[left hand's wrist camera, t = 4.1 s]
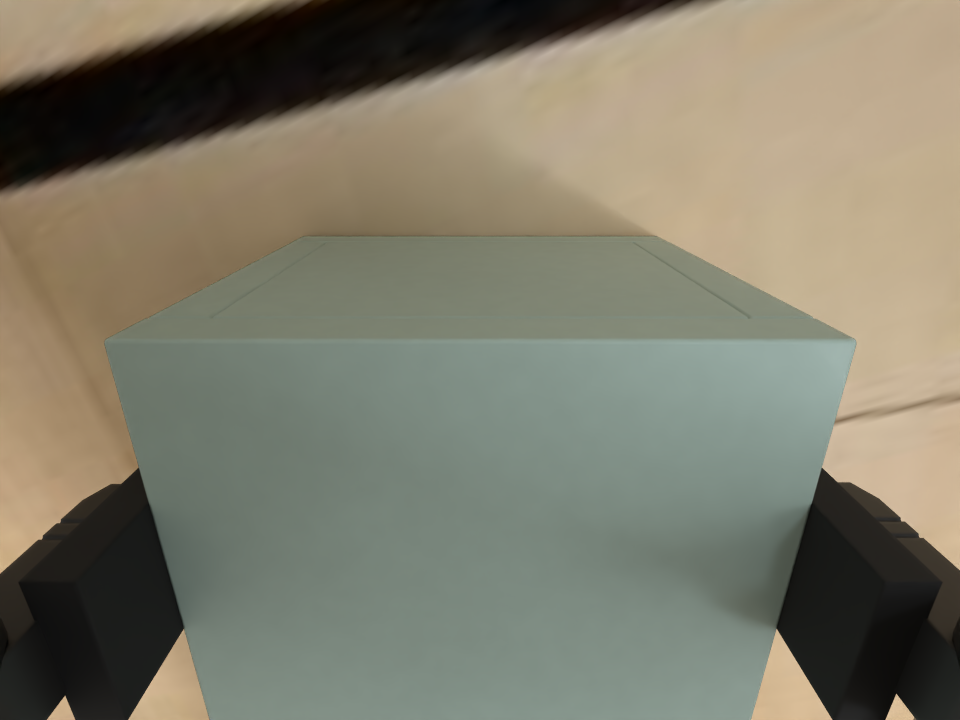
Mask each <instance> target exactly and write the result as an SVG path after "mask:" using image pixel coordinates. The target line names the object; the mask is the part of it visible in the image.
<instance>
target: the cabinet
mask: <svg viewBox="0 0 960 720" xmlns="http://www.w3.org/2000/svg"><path fill="white" fill-rule="evenodd" d="M104 344H105V348H106V352H107V355H108V359H109V362H110V366H111V369H112V373H113V377H114V380H115V384H116V387H117V391H118V394H119V398H120V402H121V405H122V409H123V412H124V416H125V419H126V423H127V427H128V430H129V434H130V437H131V441H132V444H133V448H134V452H135V455H136V459H137V462H138V466H139V469H140V473H141V477H142V480H143V484H144V487H145V491H146V494H147V498H148V502H149V505H150V509H151V512H152V516H153V519H154V523H155V527H156V530H157V534H158V537H159V541H160V544H161V548H162V552H163V555H164V559H165V562H166V566H167V569H168V573H169V577H170V580H171V584H172V587H173V591H174V594H175V598H176V602H177V605H178V609H179V612H180V616H181V619H182V623H183V627H184V630H185V634H186V637H187V641H188V644H189V648H190V652H191V655H192V659H193V662H194V666H195V669H196V673H197V677H198V680H199V684H200V687H201V691H202V694H203V698H204V702H205V705H206V709H207V712H208V716H209V719H210V720H751V718H752V714H753V710H754V707H755V703H756V700H757V696H758V693H759V689H760V685H761V682H762V678H763V675H764V671H765V668H766V664H767V661H768V657H769V653H770V650H771V646H772V643H773V639H774V636H775V632H776V629H777V625H778V621H779V618H780V614H781V611H782V607H783V604H784V600H785V596H786V593H787V589H788V586H789V582H790V579H791V575H792V572H793V568H794V564H795V561H796V557H797V554H798V550H799V547H800V543H801V540H802V536H803V532H804V529H805V525H806V522H807V518H808V515H809V511H810V507H811V504H812V500H813V497H814V493H815V490H816V486H817V483H818V479H819V475H820V472H821V468H822V465H823V461H824V458H825V454H826V451H827V447H828V443H829V440H830V436H831V433H832V429H833V426H834V422H835V418H836V415H837V411H838V408H839V404H840V401H841V397H842V394H843V390H844V386H845V383H846V379H847V376H848V372H849V369H850V365H851V362H852V358H853V354H854V351H855V347H856V340H855V339H854V338H852V337H850V336H848V335H846V334H844V333H842V332H840V331H838V330H836V329H834V328H832V327H831V326H829V325H827V324H825V323H823V322H821V321H819V320H817V319H813V317H812V316H810V315H808V314H806V313H804V312H802V311H800V310H798V309H796V308H794V307H792V306H791V305H789V304H787V303H785V302H783V301H781V300H779V299H777V298H775V297H773V296H771V295H769V294H767V293H766V292H764V291H762V290H760V289H758V288H756V287H754V286H752V285H750V284H748V283H746V282H744V281H743V280H741V279H739V278H737V277H735V276H733V275H731V274H729V273H727V272H725V271H723V270H721V269H719V268H718V267H716V266H714V265H712V264H710V263H708V262H706V261H704V260H702V259H700V258H698V257H696V256H694V255H693V254H691V253H689V252H687V251H685V250H683V249H681V248H679V247H677V246H675V245H673V244H671V243H669V242H667V241H665V240H663V239H661V238H659V237H657V236H303V237H301V238H299V239H297V240H295V241H293V242H292V243H290V244H288V245H286V246H284V247H282V248H280V249H278V250H276V251H274V252H273V253H271V254H269V255H267V256H265V257H263V258H261V259H259V260H257V261H255V262H253V263H252V264H250V265H248V266H246V267H244V268H242V269H240V270H238V271H236V272H234V273H233V274H231V275H229V276H227V277H225V278H223V279H221V280H219V281H217V282H215V283H213V284H212V285H210V286H208V287H206V288H204V289H202V290H200V291H198V292H196V293H194V294H192V295H191V296H189V297H187V298H185V299H183V300H181V301H179V302H177V303H175V304H173V305H172V306H170V307H168V308H166V309H164V310H162V311H160V312H158V313H156V314H154V315H152V316H151V317H149V319H144V320H142V321H140V322H138V323H136V324H134V325H132V326H130V327H128V328H126V329H124V330H122V331H121V332H119V333H117V334H115V335H113V336H111V337H109V338H107V339H106V340H105V343H104Z"/></svg>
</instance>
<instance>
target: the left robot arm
mask: <svg viewBox="0 0 960 720" xmlns="http://www.w3.org/2000/svg"><path fill="white" fill-rule="evenodd" d="M918 535H919V534H918V533H917V532H916V531H915V530H914V529H913V528H911V527H910V526H909V525H908V524H907V523H906V522H901V520H900V517H899V516H898V515H897V514H896V513H895V512H893V511H892V510H891V509H890V508H889V507H888V506H887V505H886V504H884V503H883V502H882V501H881V500H880V499H879V498H877V497H875V496H873V495H872V494H870V493H868V492H866V491H864V490H863V489H861V488H859V487H857V486H856V485H854V484H852V483H850V482H836V481H835V480H834V479H833V478H832V477H831V476H830V475H829V474H828V473H827V472H826V471H825V470H824V469H823V468H821V472H820V475H819V479H818V483H817V486H816V490H815V493H814V497H813V500H812V504H811V507H810V511H809V515H808V518H807V522H806V525H805V529H804V532H803V536H802V540H801V543H800V547H799V550H798V554H797V557H796V561H795V564H794V568H793V572H792V575H791V579H790V582H789V586H788V589H787V593H786V596H785V600H784V604H783V607H782V611H781V614H780V618H779V621H778V625H777V630H778V631H779V633H780V635H781V636H782V638H783V639H784V641H785V643H786V644H787V646H788V648H789V649H790V651H791V653H792V654H793V656H794V657H795V659H796V661H797V662H798V664H799V666H800V667H801V669H802V671H803V672H804V674H805V675H806V677H807V679H808V680H809V682H810V684H811V685H812V687H813V689H814V690H815V692H816V693H817V695H818V697H819V698H820V700H821V702H822V703H823V705H824V706H825V708H826V710H827V711H828V713H829V715H830V716H831V718H832V720H885V719H886V717H887V715H888V712H889V710H890V707H891V705H892V703H893V700H894V698H895V695H896V694H897V695H898V696H899V697H900V699H901V700H902V701H903V703H904V704H905V705H906V707H907V708H908V709H909V711H910V712H911V713H912V715H913V716H914V717H915V718H914V720H960V570H959V569H958V568H956V567H955V566H954V565H953V564H952V563H951V562H950V561H949V560H947V559H946V558H945V557H944V556H943V555H942V554H941V553H940V552H938V551H937V550H936V549H935V548H934V547H933V546H932V545H931V544H929V543H928V542H927V541H926V540H925V539H924V538H919V536H918ZM183 629H184V627H183V623H182V619H181V616H180V612H179V609H178V605H177V602H176V598H175V594H174V591H173V587H172V584H171V580H170V577H169V573H168V569H167V566H166V562H165V559H164V555H163V552H162V548H161V544H160V541H159V537H158V534H157V530H156V527H155V523H154V519H153V516H152V512H151V509H150V505H149V502H148V498H147V494H146V491H145V487H144V484H143V480H142V477H141V473H140V469H139V468H138V469H137V470H136V471H135V472H134V473H133V474H132V475H131V476H129V477H128V478H127V479H126V480H125V481H124V482H123V483H122V484H110V485H109V486H107V487H105V488H103V489H102V490H100V491H98V492H96V493H95V494H93V495H91V496H89V497H88V498H86V499H84V500H82V501H81V502H80V503H79V504H78V505H77V506H76V507H74V508H73V509H72V510H71V511H70V512H69V513H68V514H67V515H66V516H64V517H63V518H62V519H61V523H57V524H55V525H54V526H53V527H52V528H51V529H50V530H49V531H48V532H47V533H45V534H44V535H43V539H42V540H38V541H36V542H35V543H34V544H33V545H32V546H31V547H30V548H29V549H28V550H26V551H25V552H24V553H23V554H22V555H21V556H20V557H19V558H17V559H16V560H15V561H14V562H13V563H12V564H11V565H10V566H9V567H7V568H6V569H5V570H4V571H3V572H2V573H1V574H0V720H47V719H48V717H49V716H50V715H51V713H52V712H53V711H54V709H55V708H56V707H57V705H58V704H59V703H60V701H61V700H62V699H63V697H64V696H66V698H67V701H68V703H69V705H70V708H71V710H72V713H73V715H74V717H75V720H128V719H129V717H130V716H131V714H132V712H133V711H134V709H135V707H136V706H137V704H138V703H139V701H140V699H141V698H142V696H143V694H144V693H145V691H146V689H147V688H148V686H149V685H150V683H151V681H152V680H153V678H154V676H155V675H156V673H157V671H158V670H159V668H160V667H161V665H162V663H163V662H164V660H165V658H166V657H167V655H168V653H169V652H170V650H171V649H172V647H173V645H174V644H175V642H176V640H177V639H178V637H179V635H180V634H181V632H182V631H183Z"/></svg>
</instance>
